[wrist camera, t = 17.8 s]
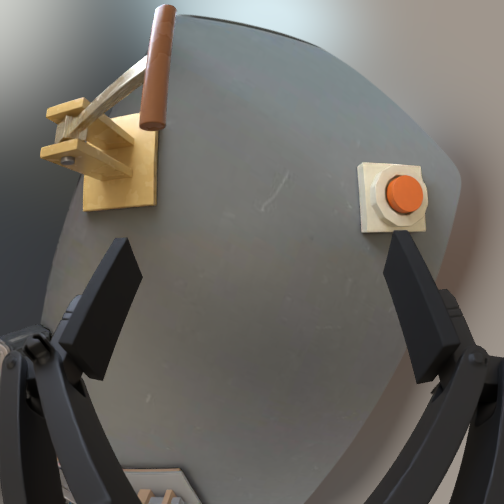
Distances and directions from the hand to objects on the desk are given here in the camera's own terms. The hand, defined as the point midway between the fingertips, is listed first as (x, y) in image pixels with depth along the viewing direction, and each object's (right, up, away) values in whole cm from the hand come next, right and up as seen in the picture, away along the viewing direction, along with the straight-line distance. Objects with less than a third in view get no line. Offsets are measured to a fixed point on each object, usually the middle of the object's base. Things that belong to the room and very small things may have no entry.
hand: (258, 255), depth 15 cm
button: (+16, +6, +16) cm, 24 cm away
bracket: (-17, +11, +20) cm, 28 cm away
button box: (+16, +7, +20) cm, 26 cm away
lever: (-11, +11, +5) cm, 16 cm away
